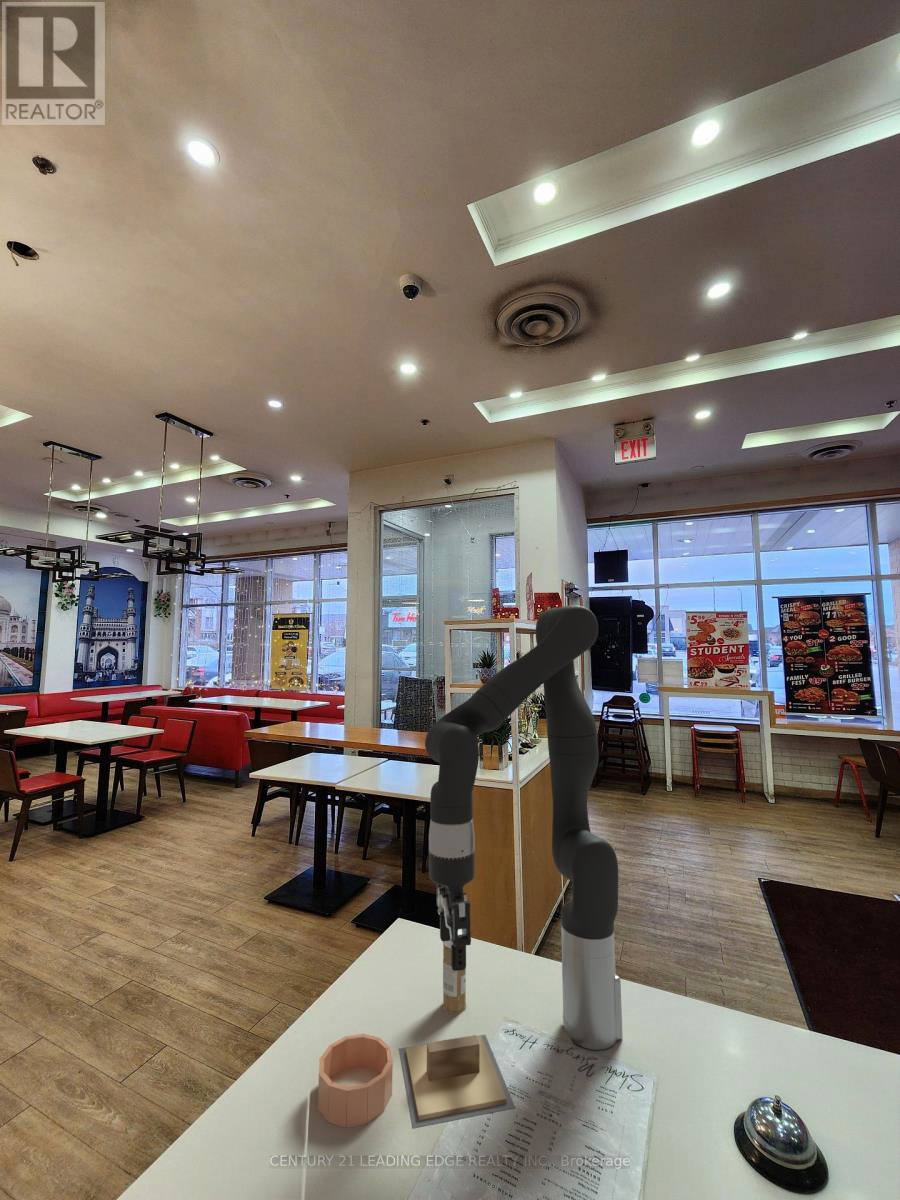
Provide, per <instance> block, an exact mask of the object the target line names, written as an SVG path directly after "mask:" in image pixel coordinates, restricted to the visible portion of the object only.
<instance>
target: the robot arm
mask: <svg viewBox="0 0 900 1200" xmlns="http://www.w3.org/2000/svg"><path fill="white" fill-rule="evenodd" d="M598 635H599V623H598V620H597V617H596V615H595V614H594V613H593V612H592V610H590V609H589V608H587V607H585V606H582V605H567V606H565V605H564V606H561V607H554V608H549V609H547V610H544V611H543V612H542V613H541V614H540V615H539V617H538V618H537V621H536V624H535V642H536V645H535V646H534V647H533V648H532V649H531V650H530V651H528V652H526V653H525V654H524V655H522V656H520V657H519V658H517V659H516V660H514V661H512V662H511V663H510V664H508V665H506V666H505V667H503V668H501V669H500V670H499V671H498V672H496V673H495V674H493V676H491V677H490V678H489V679H487V681H486V682H485V683H483V684H482V685H481V686H480V687H479V688H478V689H477V690H475V692H474V693H473V694H472V695H471V696H470V698H468V699H466V701H464V702H463V703H462V704H459V705H458V706H456V707H454V708H453V709H452V710H451V711H449V712H447V713H446V714H445V715H443V716H442V717H441V718H439V719H438V720H437V721H436V722H435V723H434V724H433V725H432V726H431V727H430V729H429V730H428V732H427V734H426V736H425V740H424V746H425V747H424V748H425V751H426V753H427V755H428V756H429V757H430V758H431V759H432V760H433V761H435V762H436V763H438V764H439V768H438V769H439V770H438V779H437V781H436V782H435V783H434V784H432V786H431V790H430V797H429V798H430V801H429V802H430V807H429V808H430V814H429V815H430V821H429V831H428V877H429V878H430V880H431V882H433V883H435V884H436V895H435V897H436V901H435V904H436V907H438V909H437V913H438V915H439V938H440V940H441V942H443V941H450V942H451V967H452V969H453V971H459V970H464V969H465V968H466V969H467V946H471V944H472V939H471V938H472V937H471V933H472V932H471V903H470V901H469V900H468V897H467V892H465V891H464V887H465V886H466V885H467V884H469V883H471V882H472V881H473V880H474V879H475V876H476V866H475V865H476V862H475V861H476V855H475V854H476V853H475V852H476V850H475V848H476V847H475V844H476V843H475V839H476V838H475V828H474V827H475V826H474V819H473V818H474V816H473V815H474V814H473V813H474V811H473V809H474V808H473V807H474V805H473V802H474V801H473V790H474V786H475V782H476V777H477V772H478V767H479V760H480V747H479V742H478V739H477V737H478V736H480V735H482V734H483V733H487V732H488V733H489V732H493V731H494V730H496V729H498V728H499V727H500V726H501V725H502V724H503V723H504V722H505V721H506V720H507V719H508V718H509V716H511V714H513V713H514V712H515V711H516V709H518V708H519V706H521V705H522V704H523V703H524V702H525V701H526V699H528V698H529V697H530V696H532V694H533V693H534V692H535V691H536V690H537V689H538V688H540V687H541V686H542V685H543V693H544V704H545V716H546V734H547V735H546V736H547V748H548V756H549V757H548V758H549V765H550V766H549V768H550V782H551V795H552V797H551V798H552V827H551V828H552V830H551V831H552V833H551V854H552V859H553V862H554V865H555V868H556V869H557V871H558V872H559V873H560V874H561V875H562V876H564V878H566V879H567V880H569V881H570V882H571V883H572V899H571V900H568V901H567V902H565V903H564V904H563V905H562V906H561V911H560V920H561V921H560V923H561V924H560V927H561V928H560V929H561V933H560V934H561V968H562V969H561V974H562V976H561V978H562V979H561V981H562V1019H563V1020H562V1021H563V1024H562V1025H563V1026H562V1027H563V1029H564V1032H565V1034H566V1035H567V1036H568V1037H569V1039H570V1040H571V1042H573V1043H574V1044H576V1045H578V1046H580V1047H582V1048H585V1049H588V1050H595V1051H600V1050H607V1049H608V1048H609V1049H610V1048H611V1047H613V1046H614V1045H615V1044H616V1042H617V1041H619V1040H623V1037H624V1036H623V1013H622V1012H623V1011H622V1009H623V1008H622V986H621V985H622V984H621V978H620V976H619V975H618V974H616V950H615V949H616V946H615V920H616V918H617V915H618V911H619V861H618V857H617V853H616V851H615V849H614V848H613V846H612V844H610V843H609V842H608V841H606V840H604V839H603V838H602V837H599V836H597V835H596V834H594V833H592V832H591V831H592V830H591V828H590V821H589V811H588V796H589V793H590V792H589V791H590V788H591V786H592V784H593V780H594V778H595V776H596V775H595V774H596V772H597V769H598V765H599V757H600V756H599V744H598V743H599V742H598V733H597V725H596V720H595V717H594V716H593V712H592V710H591V708H590V706H589V704H588V703H587V700H586V699H585V696H584V695H583V692H582V690H581V689H580V687H579V683H578V681H577V677H576V672H575V659H578V658H579V657H580V656H581V655H582V654H584V653H586V652H587V651H588V650H589V649H591V647H593V645H594V644H595V642H596V641H597V638H598ZM459 929H462V935H458V930H459Z"/></svg>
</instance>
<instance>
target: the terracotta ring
mask: <svg viewBox="0 0 900 1200" xmlns="http://www.w3.org/2000/svg"><path fill="white" fill-rule="evenodd" d="M392 1054H393V1053H392V1049H391V1046H389V1044H388V1043H387V1042H385V1040H383V1039H382V1038H381V1037H378V1036H374V1035H370V1034H366V1033H358V1034H353V1035H347V1036H343V1037H342V1038H340V1039H339V1040H337V1041H335V1042H333V1043H331V1044H330V1045H328V1046H327V1048H326V1049H325V1051H324V1052H323V1053H322V1055H321V1056H320V1057H319V1061H318V1062H319V1064H318V1065H319V1066H318V1067H319V1068H318V1090H317V1092H318V1093H317V1110H318V1111H319V1112H320V1114H321V1115H322V1116H323V1118H324V1119H325V1120H326V1122H328V1123H331V1124H333V1125H337V1126H340V1127H343V1128H350V1127H356V1126H360V1125H361V1126H362V1125H365V1124H369V1123H370V1122H371V1121H372V1120H374V1119H376V1118H377V1117H378V1116H380V1115H382V1114H383V1113H384V1112H385V1110H386V1108H387V1106H388V1104H389V1102H390V1100H391V1098H392V1096H393V1063H394V1061H393V1055H392Z"/></svg>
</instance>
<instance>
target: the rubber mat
mask: <svg viewBox="0 0 900 1200" xmlns="http://www.w3.org/2000/svg"><path fill="white" fill-rule="evenodd" d="M479 1036H482V1039H483V1041H484V1044H485V1046H486V1049H487V1051H488V1054H489V1056H490V1059H491V1061H492V1064H493V1066H494V1069H495V1071H496V1074H497V1076H498V1079H499V1081H500V1084H501V1086H502V1089H503V1091H504V1093H505V1096H506V1098H507V1103H505V1104H500V1105H495V1106H490V1107H485V1108H480V1109H475V1110H469V1111H464V1112H459V1113H454V1114H449V1115H444V1116H439V1117H434V1118H428V1119H423V1120H418V1115H417V1109H416V1104H415V1099H414V1093H413V1088H412V1083H411V1077H410V1072H409V1067H408V1062H407V1056H406V1048H409V1047H410V1046H406V1047H401V1048H398V1052H399V1056H400V1063H401V1069H402V1075H403V1080H404V1081H403V1082H404V1085H405V1092H406V1098H407V1104H408V1109H409V1115H410V1121H411V1126H412V1129H417V1128H422V1127H423V1128H424V1127H426V1126H431V1125H432V1126H433V1125H437V1124H442V1123H448V1122H453V1121H457V1120H461V1119H462V1120H463V1119H469V1118H473V1117H478V1116H483V1115H487V1114H493V1113H497V1112H503V1111H509V1110H513V1109H516V1106H515V1103H514V1101H513V1099H512V1096H511V1094H510V1091H509V1089H508V1086H507V1084H506V1081H505V1080H504V1077H503V1074H502V1072H501V1070H500V1067H499V1065H498V1063H497V1060H496V1057H495V1054H494V1052H493V1051H492V1048H491V1045H490V1043H489V1040H488V1038H487V1036H486V1034H481V1035H479ZM422 1045H423V1044H419V1045H413V1046H411V1047H416V1046H422ZM424 1045H427V1043H424Z"/></svg>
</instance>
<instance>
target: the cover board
mask: <svg viewBox="0 0 900 1200" xmlns="http://www.w3.org/2000/svg"><path fill="white" fill-rule="evenodd" d="M426 1044H427V1045H425V1044H421V1045H422V1046H418V1045H415V1046H416V1047H412V1046H408V1047H409V1048H406V1047H405V1048H406V1056H407V1062H408V1067H409V1072H410V1077H411V1083H412V1088H413V1093H414V1099H415V1104H416V1109H417V1115H418V1120H423V1119H428V1118H434V1117H439V1116H444V1115H449V1114H454V1113H459V1112H464V1111H469V1110H475V1109H480V1108H485V1107H490V1106H495V1105H500V1104H505V1103H507V1098H506V1096H505V1093H504V1091H503V1089H502V1086H501V1084H500V1081H499V1079H498V1076H497V1074H496V1071H495V1069H494V1066H493V1064H492V1061H491V1059H490V1056H489V1054H488V1051H487V1049H486V1046H485V1044H484V1041H483V1039H482V1036H480V1035H476V1034H474V1035H468V1036H467V1035H466V1036H463V1037H461V1036H460V1037H455V1038H449V1039H444V1040H443V1039H442V1040H436V1041H432V1042H427V1043H426Z"/></svg>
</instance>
